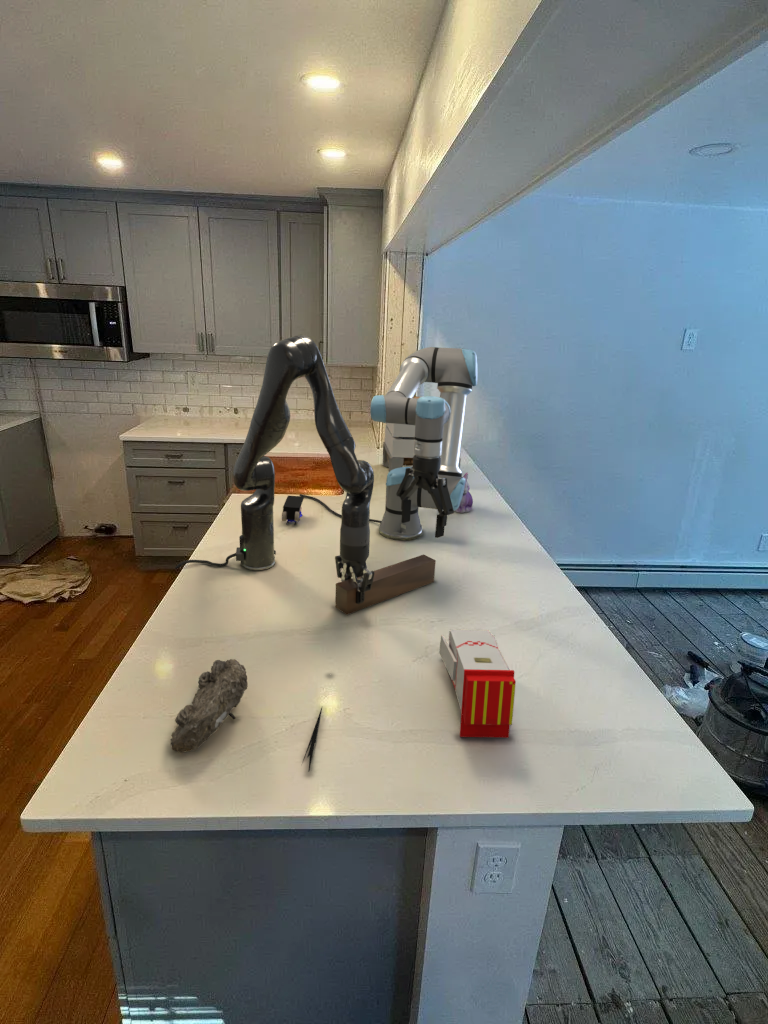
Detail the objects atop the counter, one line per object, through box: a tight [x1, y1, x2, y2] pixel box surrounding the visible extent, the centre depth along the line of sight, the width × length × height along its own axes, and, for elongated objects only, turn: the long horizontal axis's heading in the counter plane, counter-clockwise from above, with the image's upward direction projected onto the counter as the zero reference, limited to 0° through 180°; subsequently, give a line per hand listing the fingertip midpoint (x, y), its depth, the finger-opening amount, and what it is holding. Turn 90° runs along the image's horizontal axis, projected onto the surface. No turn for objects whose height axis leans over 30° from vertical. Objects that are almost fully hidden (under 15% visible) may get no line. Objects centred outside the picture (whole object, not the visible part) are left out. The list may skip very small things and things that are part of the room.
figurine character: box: [281, 495, 305, 526], centre depth 206 cm, size 7×8×15 cm
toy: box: [438, 628, 517, 738], centre depth 117 cm, size 12×13×30 cm
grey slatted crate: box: [381, 391, 464, 473], centre depth 268 cm, size 34×33×41 cm
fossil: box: [170, 658, 249, 753], centre depth 106 cm, size 22×10×15 cm
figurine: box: [454, 472, 474, 514], centre depth 225 cm, size 9×10×15 cm
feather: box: [301, 673, 332, 771], centre depth 108 cm, size 2×28×2 cm
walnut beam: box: [334, 554, 437, 616], centre depth 156 cm, size 5×32×7 cm, turn 131°
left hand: (353, 598), depth 149 cm, fingers closed on walnut beam, 5 cm apart
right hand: (422, 529), depth 159 cm, fingers open, 13 cm apart
